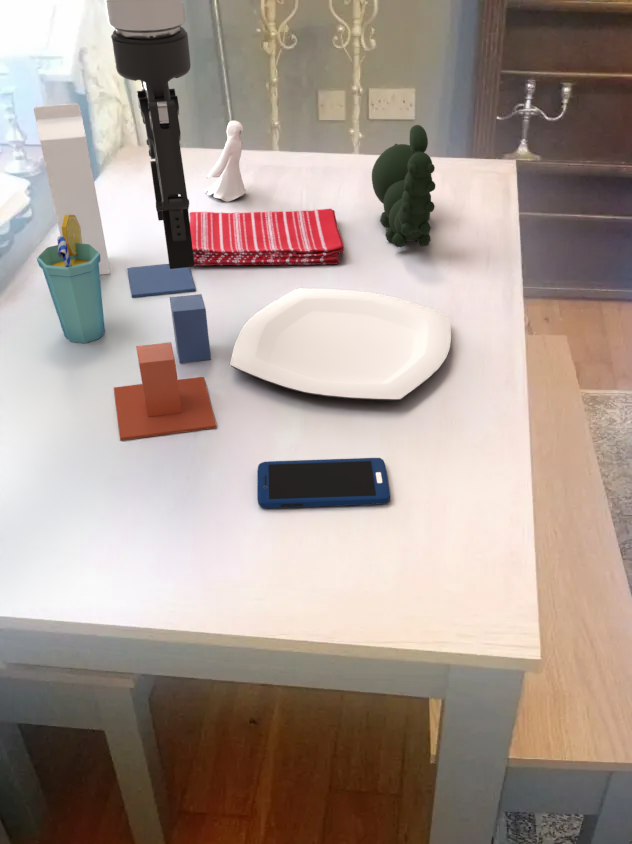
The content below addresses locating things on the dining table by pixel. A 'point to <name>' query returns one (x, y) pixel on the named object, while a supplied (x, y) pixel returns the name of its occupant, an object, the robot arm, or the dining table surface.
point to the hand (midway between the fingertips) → (175, 241)
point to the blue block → (190, 328)
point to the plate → (343, 344)
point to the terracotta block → (159, 379)
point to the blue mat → (159, 280)
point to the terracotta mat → (140, 425)
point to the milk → (71, 173)
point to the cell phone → (322, 483)
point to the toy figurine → (405, 189)
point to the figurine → (228, 167)
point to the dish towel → (265, 238)
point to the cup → (74, 283)
